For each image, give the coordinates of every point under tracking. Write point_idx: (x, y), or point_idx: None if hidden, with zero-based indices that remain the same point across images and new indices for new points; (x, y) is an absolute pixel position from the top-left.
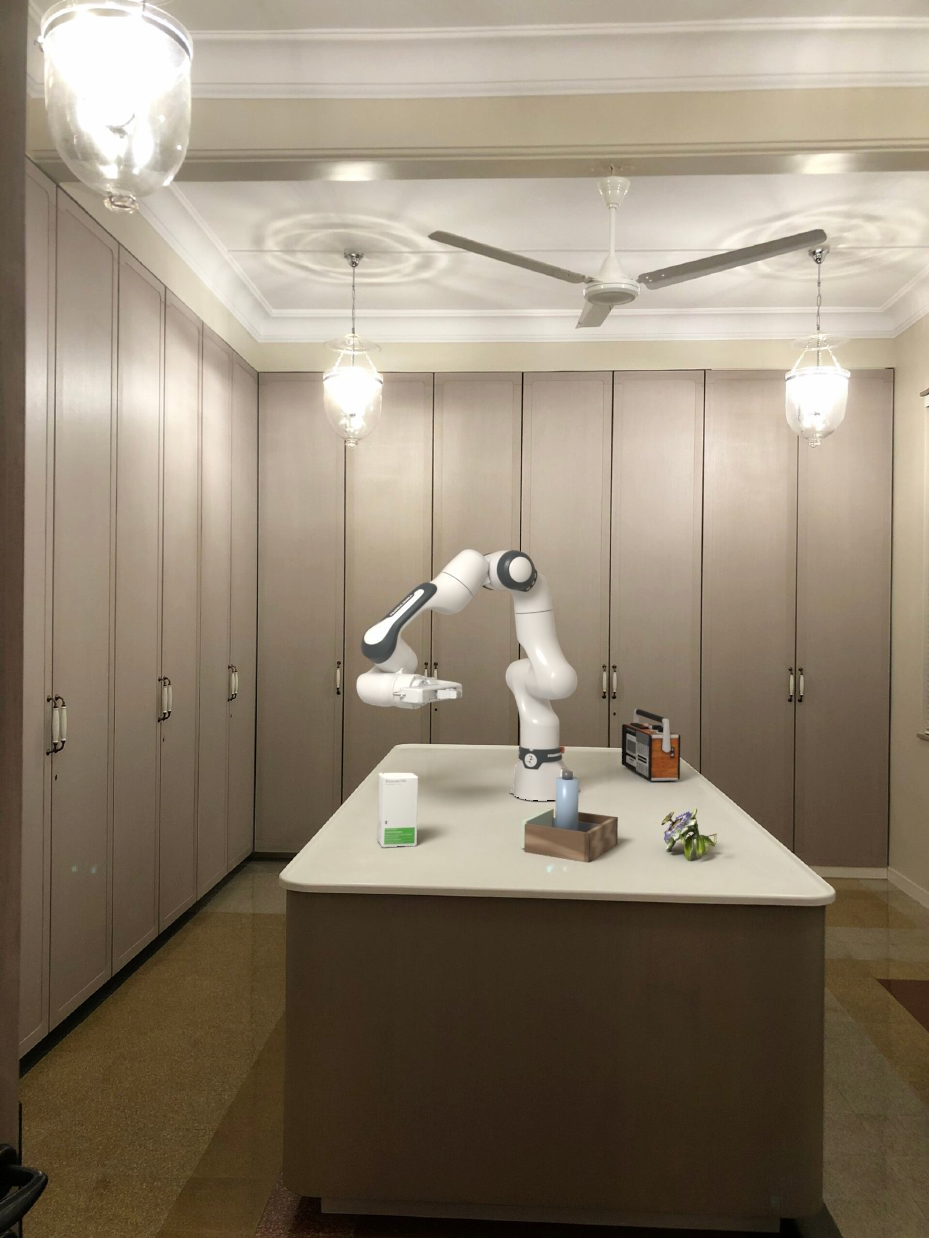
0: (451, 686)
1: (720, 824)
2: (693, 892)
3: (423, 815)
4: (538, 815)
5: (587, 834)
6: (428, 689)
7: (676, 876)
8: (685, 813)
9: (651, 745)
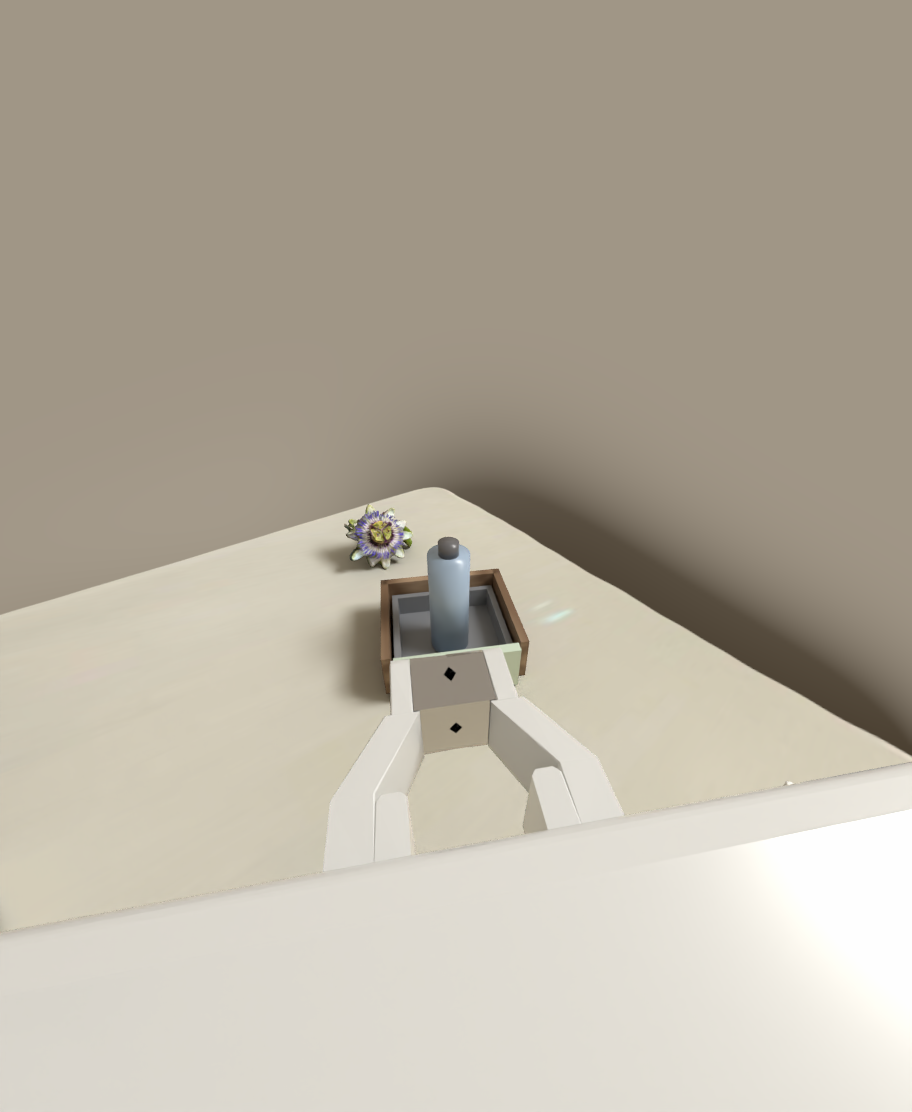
0: (208, 893)
1: (207, 572)
2: (503, 522)
3: None
4: (463, 650)
5: (498, 570)
6: (856, 773)
7: (471, 539)
8: (360, 521)
9: None
